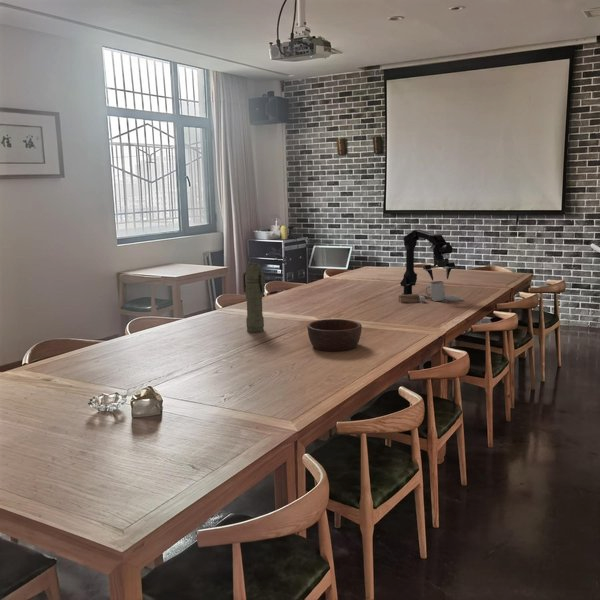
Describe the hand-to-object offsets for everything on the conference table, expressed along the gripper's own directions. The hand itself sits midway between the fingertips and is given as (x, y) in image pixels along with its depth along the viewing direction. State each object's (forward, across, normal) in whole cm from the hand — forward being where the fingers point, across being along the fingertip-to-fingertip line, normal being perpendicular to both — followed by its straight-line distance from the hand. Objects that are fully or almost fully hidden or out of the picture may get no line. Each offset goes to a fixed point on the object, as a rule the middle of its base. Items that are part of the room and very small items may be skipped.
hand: (440, 279), depth 383 cm
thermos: (+14, -114, -61) cm, 130 cm away
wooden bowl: (+22, -77, -96) cm, 125 cm away
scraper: (+12, -18, +5) cm, 23 cm away
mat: (+13, +6, +9) cm, 17 cm away
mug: (+13, -2, +8) cm, 15 cm away
